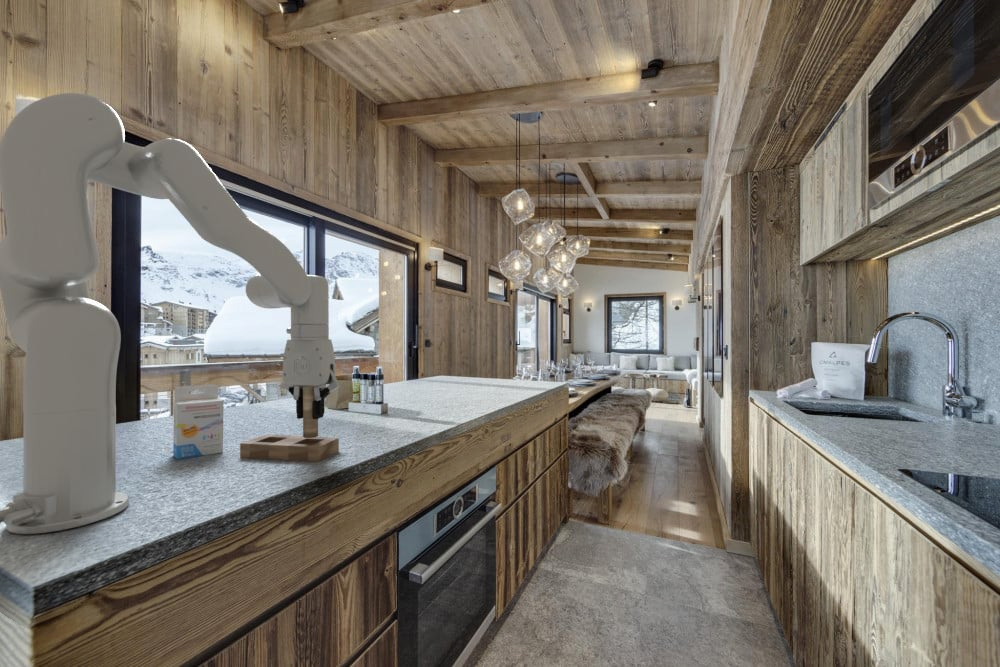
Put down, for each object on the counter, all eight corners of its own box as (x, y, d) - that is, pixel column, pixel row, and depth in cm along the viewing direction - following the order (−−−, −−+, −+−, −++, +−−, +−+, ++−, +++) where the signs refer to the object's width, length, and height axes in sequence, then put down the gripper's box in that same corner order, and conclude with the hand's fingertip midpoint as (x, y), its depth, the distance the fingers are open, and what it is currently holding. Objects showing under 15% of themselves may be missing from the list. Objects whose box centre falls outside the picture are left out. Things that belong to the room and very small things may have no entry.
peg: (313, 438, 92) (312, 381, 92) (300, 437, 93) (299, 381, 93) (320, 434, 95) (320, 380, 95) (308, 434, 96) (308, 380, 96)
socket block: (318, 461, 89) (318, 447, 89) (240, 457, 92) (240, 443, 92) (338, 451, 97) (338, 437, 97) (266, 447, 100) (266, 434, 100)
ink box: (176, 460, 90) (176, 389, 90) (172, 455, 94) (173, 387, 94) (224, 452, 96) (224, 385, 96) (218, 448, 100) (219, 383, 100)
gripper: (264, 333, 91) (264, 420, 92) (335, 333, 89) (336, 422, 89) (287, 332, 99) (287, 413, 99) (353, 332, 96) (354, 415, 96)
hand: (310, 417), depth 94 cm, fingers closed on peg, 3 cm apart
